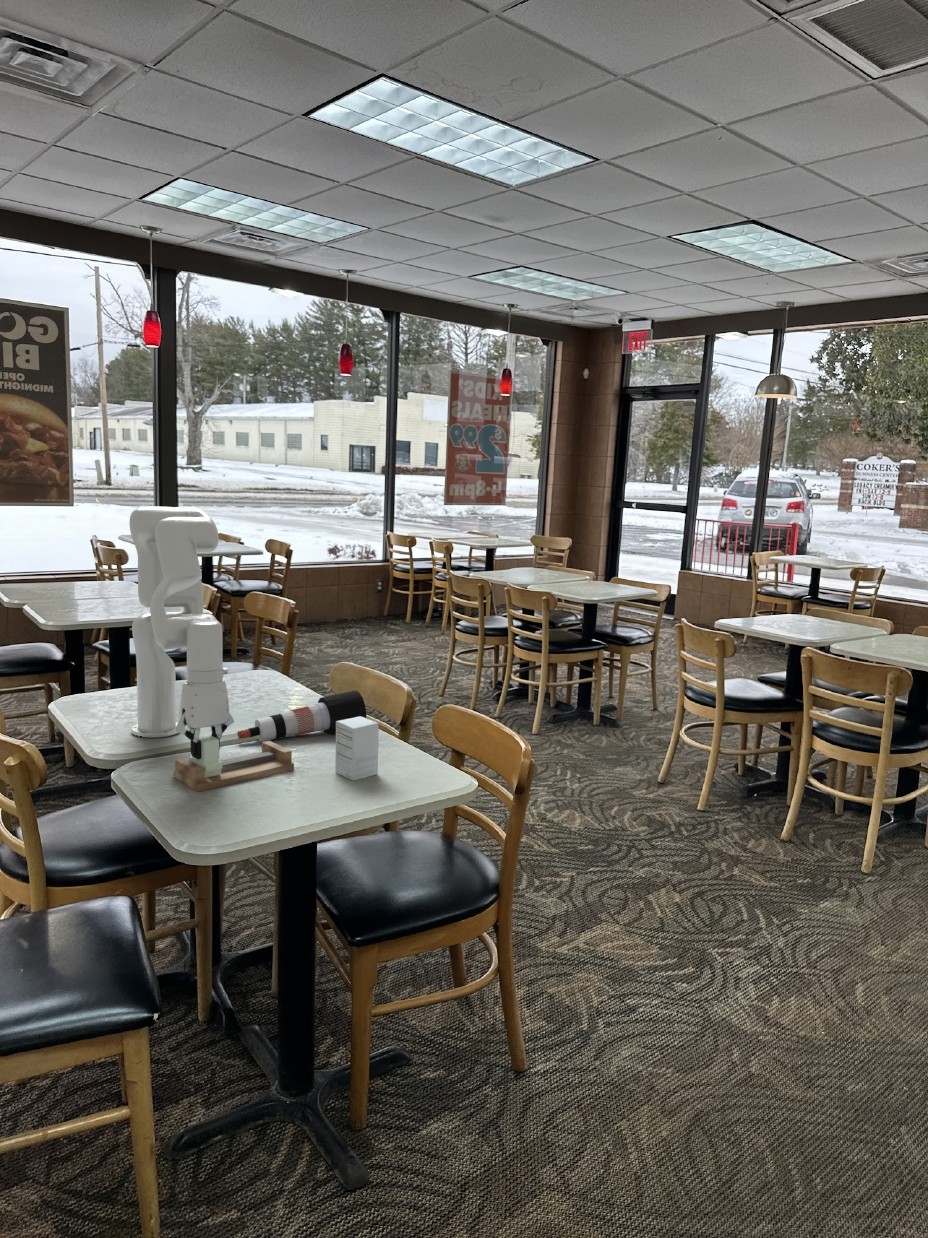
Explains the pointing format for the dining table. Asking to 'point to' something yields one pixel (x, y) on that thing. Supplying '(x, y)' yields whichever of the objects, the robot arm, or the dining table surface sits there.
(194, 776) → the rail board
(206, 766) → the block
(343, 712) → the white black stepped cylinder
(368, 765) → the supplement box
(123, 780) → the dining table surface
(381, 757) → the dining table surface
